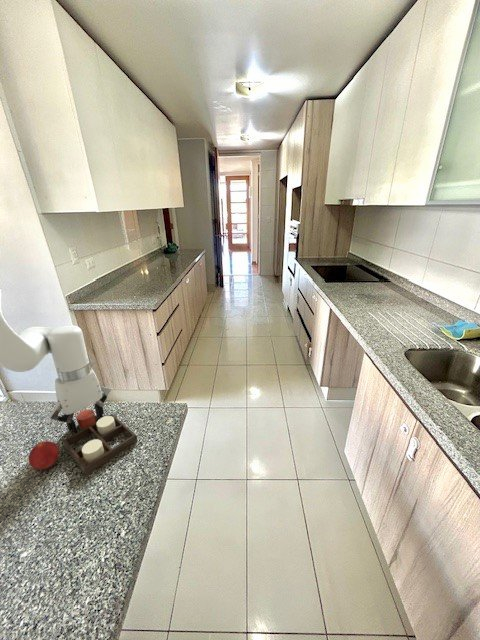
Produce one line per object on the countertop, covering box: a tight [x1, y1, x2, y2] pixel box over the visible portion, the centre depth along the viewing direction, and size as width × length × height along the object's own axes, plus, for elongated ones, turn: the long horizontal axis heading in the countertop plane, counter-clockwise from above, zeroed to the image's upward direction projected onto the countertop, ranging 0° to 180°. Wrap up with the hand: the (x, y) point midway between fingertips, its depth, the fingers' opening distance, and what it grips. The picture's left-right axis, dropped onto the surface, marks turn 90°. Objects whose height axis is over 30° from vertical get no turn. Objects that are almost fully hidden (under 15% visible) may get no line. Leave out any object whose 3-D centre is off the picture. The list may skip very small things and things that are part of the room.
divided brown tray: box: [62, 413, 138, 477], centre depth 69 cm, size 13×13×3 cm
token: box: [96, 415, 117, 436], centre depth 72 cm, size 4×4×4 cm
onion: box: [28, 440, 60, 470], centre depth 62 cm, size 6×6×8 cm
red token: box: [75, 409, 97, 430], centre depth 76 cm, size 4×4×4 cm
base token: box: [81, 439, 105, 465], centre depth 64 cm, size 4×4×4 cm
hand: (87, 423), depth 76 cm, fingers open, 6 cm apart
